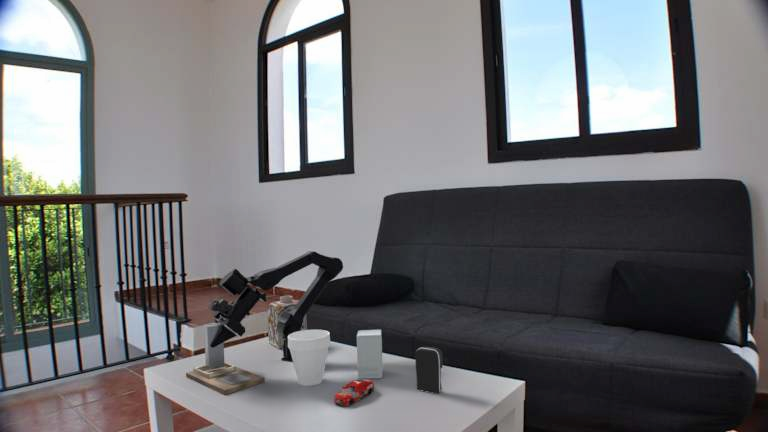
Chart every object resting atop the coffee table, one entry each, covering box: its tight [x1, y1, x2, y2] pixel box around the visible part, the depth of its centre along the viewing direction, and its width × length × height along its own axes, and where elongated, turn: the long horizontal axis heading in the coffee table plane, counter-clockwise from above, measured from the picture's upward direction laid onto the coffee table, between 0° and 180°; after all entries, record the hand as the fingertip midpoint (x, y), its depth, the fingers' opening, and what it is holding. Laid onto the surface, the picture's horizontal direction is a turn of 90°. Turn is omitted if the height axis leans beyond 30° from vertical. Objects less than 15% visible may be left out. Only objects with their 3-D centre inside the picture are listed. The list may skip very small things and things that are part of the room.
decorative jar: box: [267, 295, 308, 350], centre depth 177 cm, size 12×12×18 cm
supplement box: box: [356, 329, 384, 380], centre depth 138 cm, size 7×7×13 cm
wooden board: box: [185, 361, 266, 395], centre depth 139 cm, size 13×24×2 cm, turn 47°
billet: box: [203, 322, 226, 370], centre depth 143 cm, size 5×5×13 cm
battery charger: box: [415, 346, 444, 394], centre depth 124 cm, size 7×4×11 cm, turn 56°
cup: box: [288, 329, 331, 387], centre depth 134 cm, size 12×12×14 cm
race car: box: [333, 378, 375, 406], centre depth 121 cm, size 13×5×4 cm, turn 144°
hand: (209, 345), depth 143 cm, fingers closed on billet, 5 cm apart
